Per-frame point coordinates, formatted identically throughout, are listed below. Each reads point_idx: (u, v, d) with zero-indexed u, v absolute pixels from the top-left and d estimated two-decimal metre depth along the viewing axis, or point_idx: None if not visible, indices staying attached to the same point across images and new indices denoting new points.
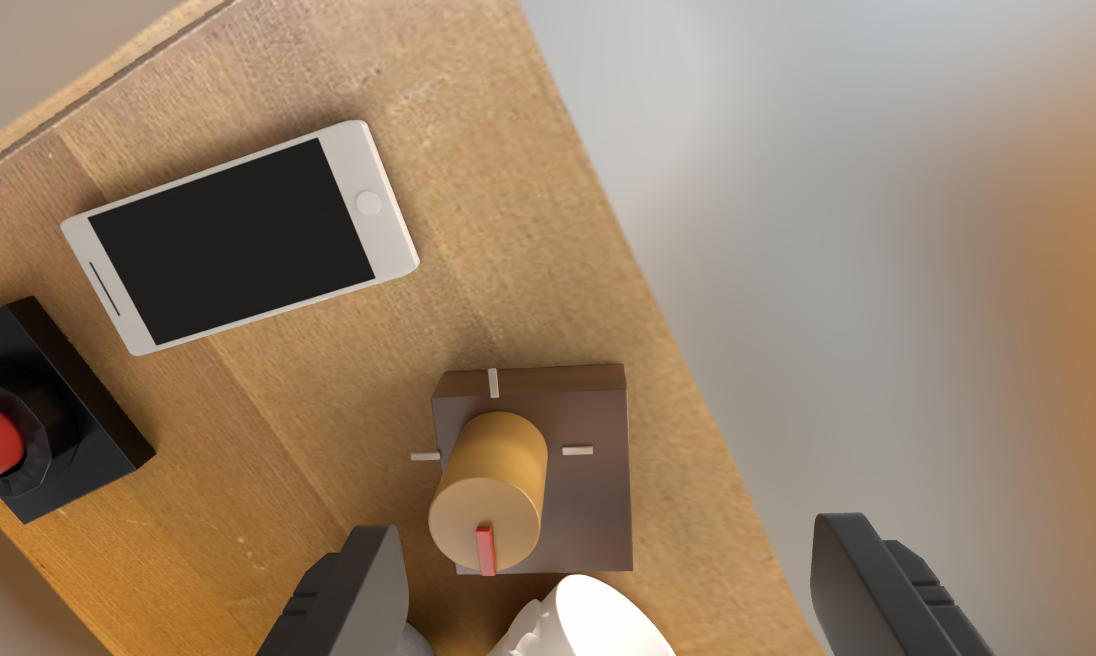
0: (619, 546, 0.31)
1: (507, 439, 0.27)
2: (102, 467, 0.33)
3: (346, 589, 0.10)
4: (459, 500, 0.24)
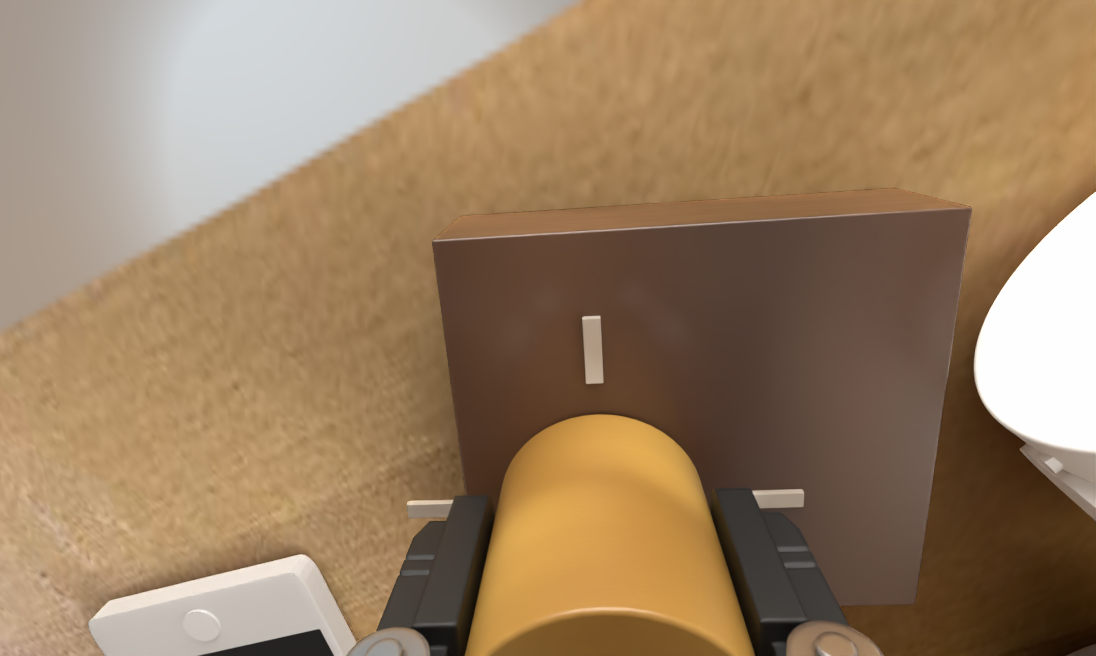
0: (884, 246, 0.12)
1: (488, 551, 0.11)
2: None
3: (461, 551, 0.11)
4: None
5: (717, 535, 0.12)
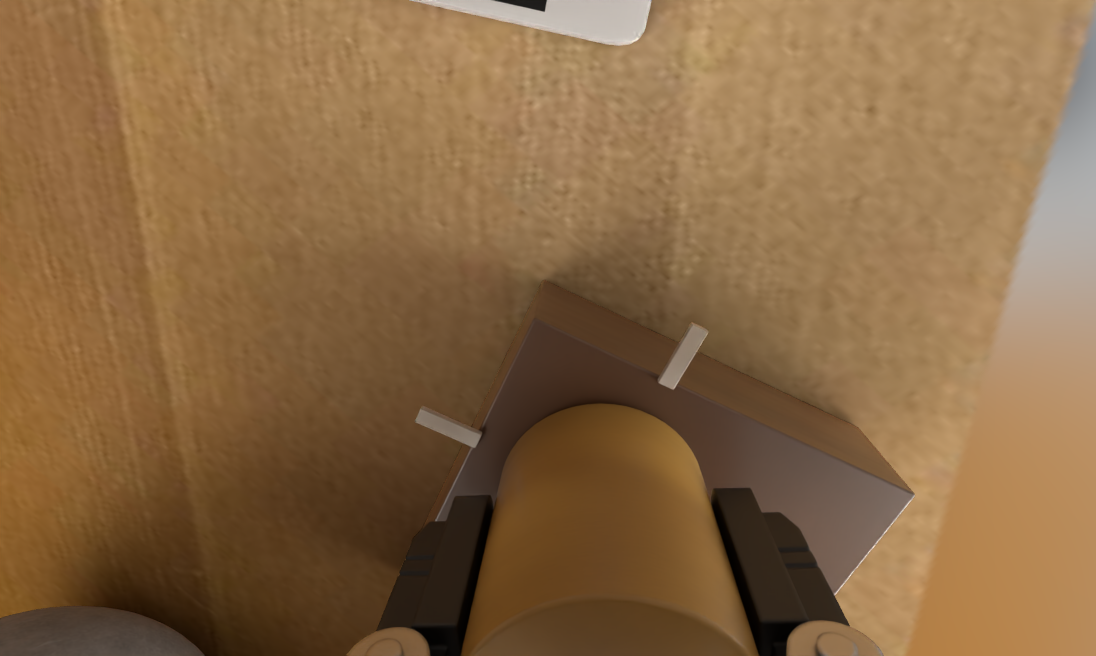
0: None
1: None
2: None
3: (461, 551, 0.11)
4: None
5: (713, 515, 0.11)
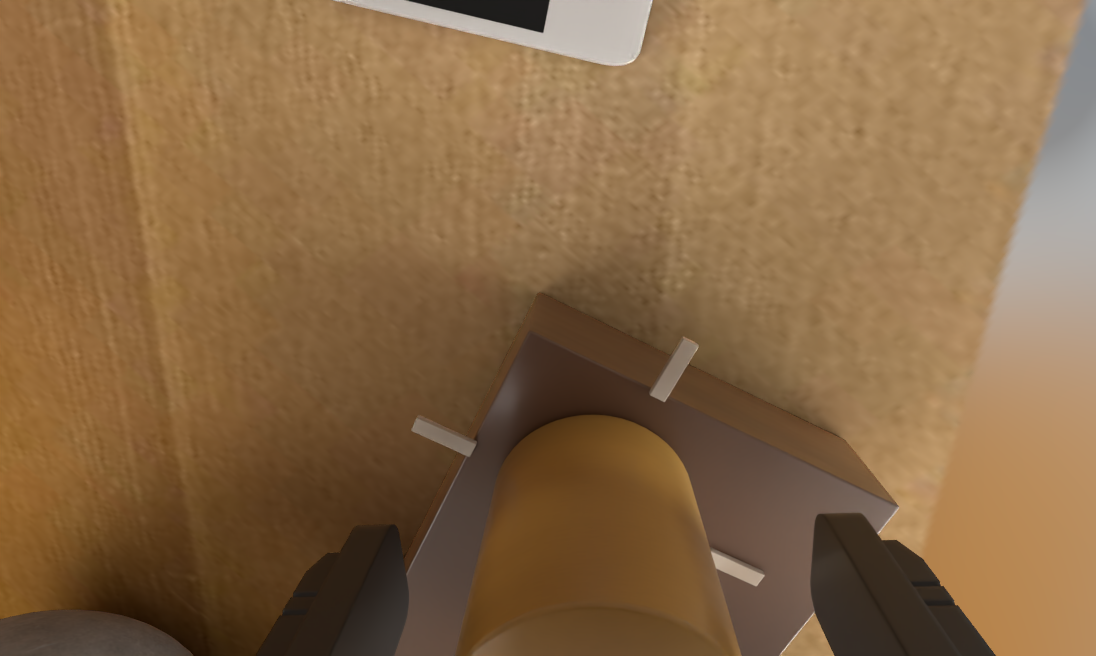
0: None
1: (479, 553, 0.12)
2: None
3: (346, 589, 0.10)
4: None
5: (702, 527, 0.12)
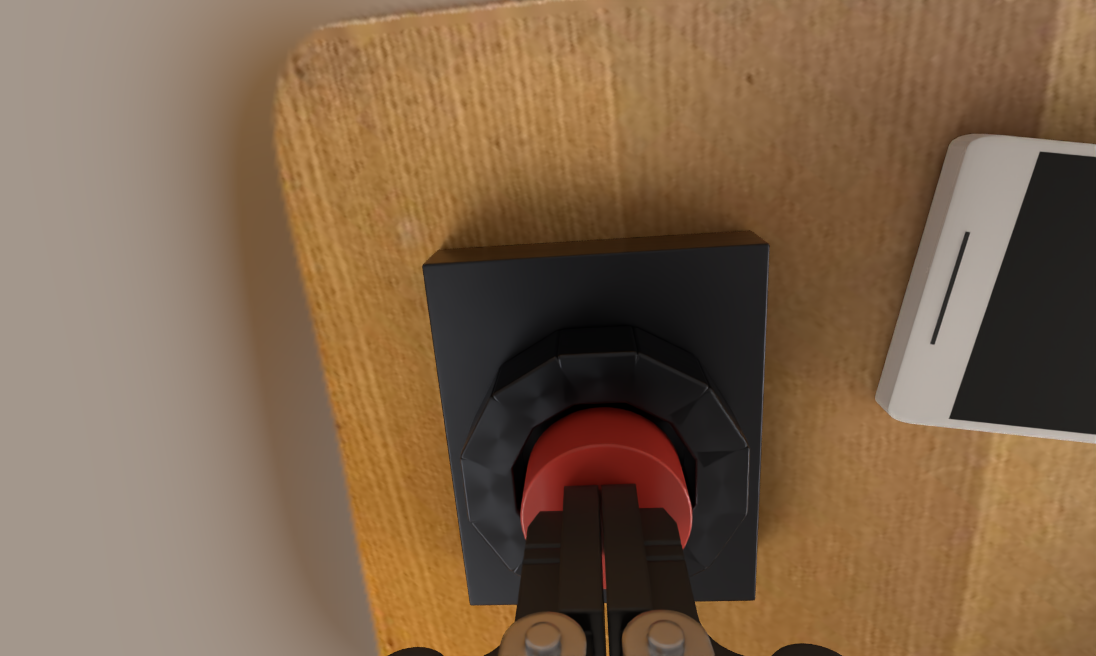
0: None
1: None
2: (699, 574, 0.17)
3: (587, 539, 0.11)
4: None
5: None
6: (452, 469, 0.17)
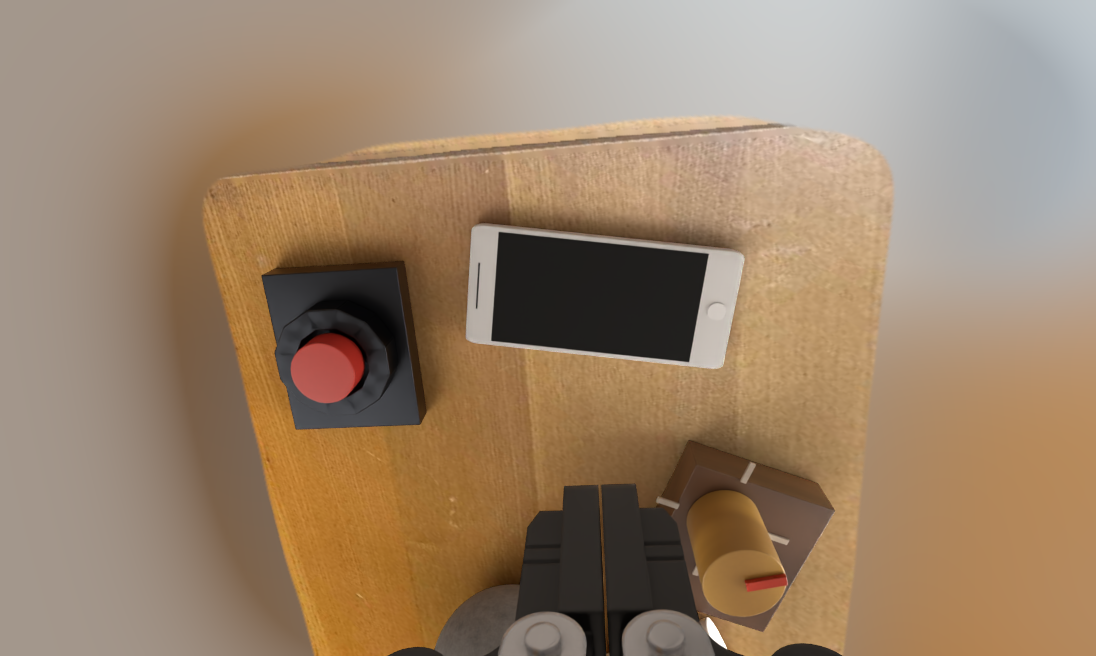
0: (764, 612, 0.41)
1: (693, 542, 0.36)
2: (394, 412, 0.39)
3: (587, 539, 0.11)
4: (724, 600, 0.34)
5: (764, 526, 0.36)
6: None
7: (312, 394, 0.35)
